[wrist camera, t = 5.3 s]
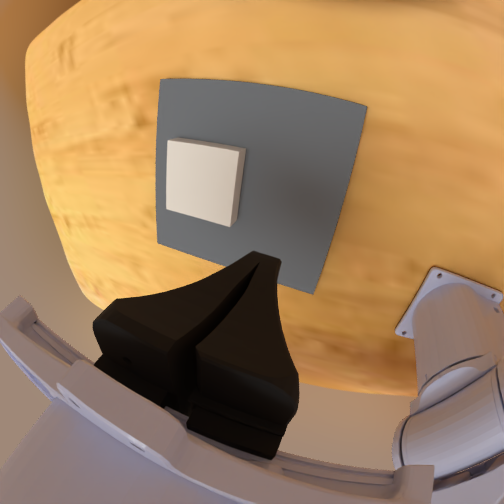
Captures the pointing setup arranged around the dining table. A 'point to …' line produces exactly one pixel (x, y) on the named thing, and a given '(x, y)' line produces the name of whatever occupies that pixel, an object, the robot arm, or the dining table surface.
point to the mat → (263, 171)
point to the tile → (204, 179)
